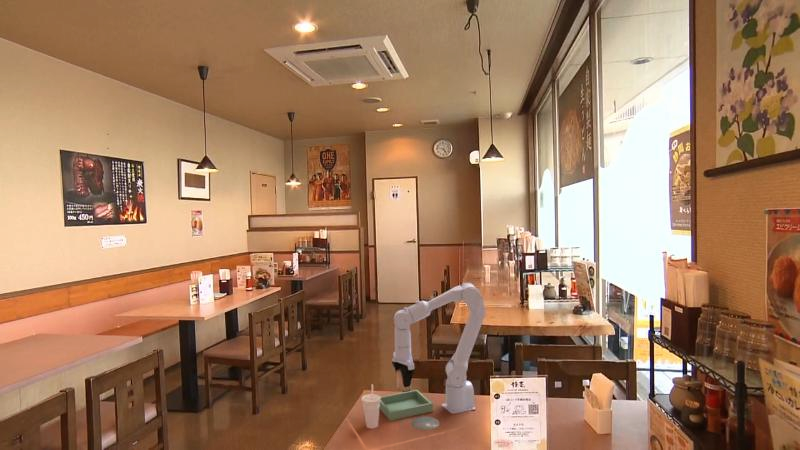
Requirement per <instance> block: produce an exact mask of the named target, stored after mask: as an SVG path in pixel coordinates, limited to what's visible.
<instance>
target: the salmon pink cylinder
mask: <svg viewBox="0 0 800 450" xmlns="http://www.w3.org/2000/svg"><path fill="white" fill-rule="evenodd" d="M411 385H412V383H411V384H410V386H409V387H404V385H403V379H402V374H401V371H400V369H399V370H397V375H396V389H397V390H398V391H401V392H408V391H411V389H412V386H411Z"/></svg>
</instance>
